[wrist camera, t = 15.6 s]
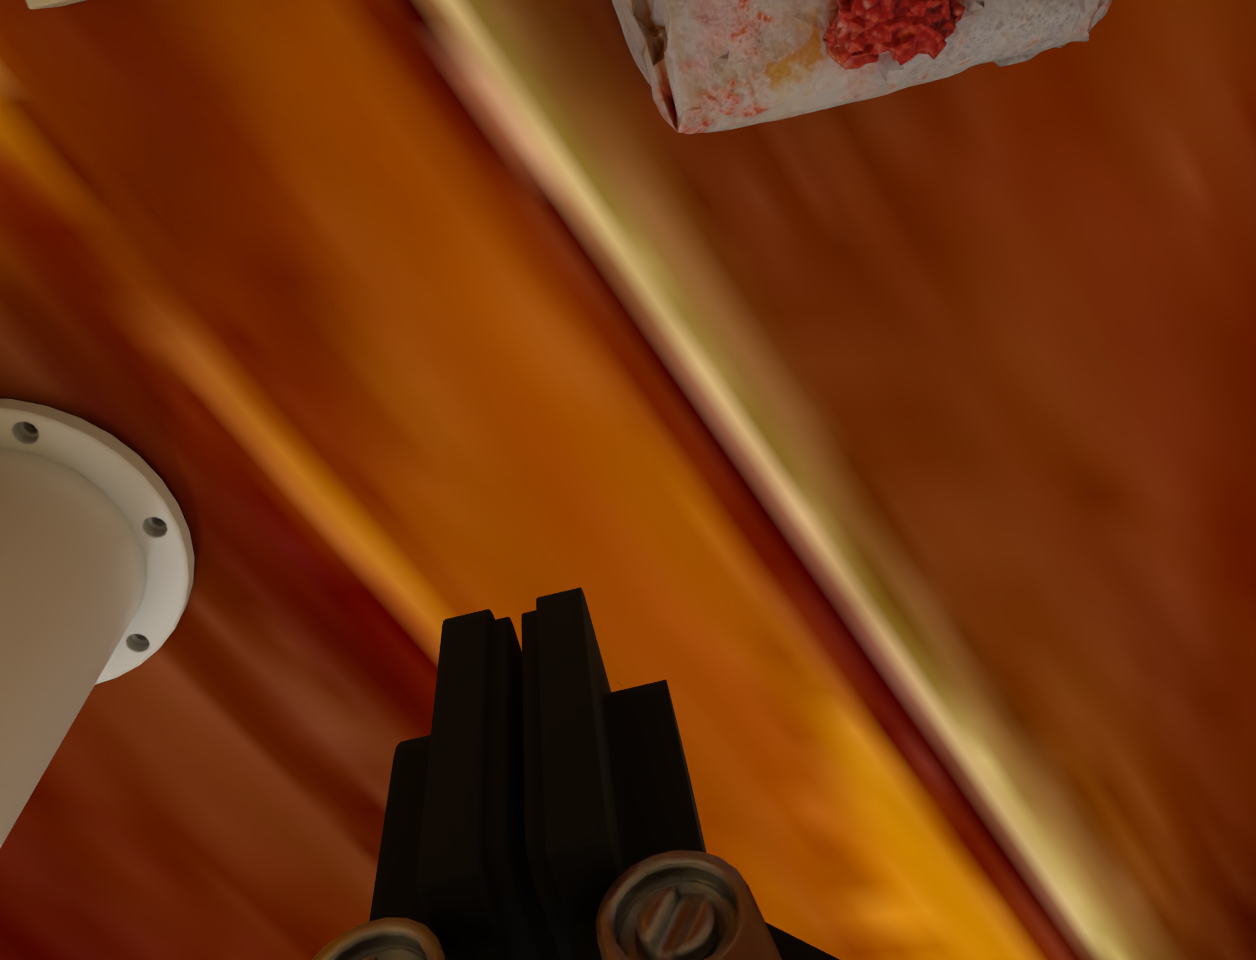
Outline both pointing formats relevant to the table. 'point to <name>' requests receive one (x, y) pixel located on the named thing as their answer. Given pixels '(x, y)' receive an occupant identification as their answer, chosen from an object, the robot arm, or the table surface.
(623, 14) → the food item
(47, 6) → the control block
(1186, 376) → the table surface
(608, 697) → the robot arm
